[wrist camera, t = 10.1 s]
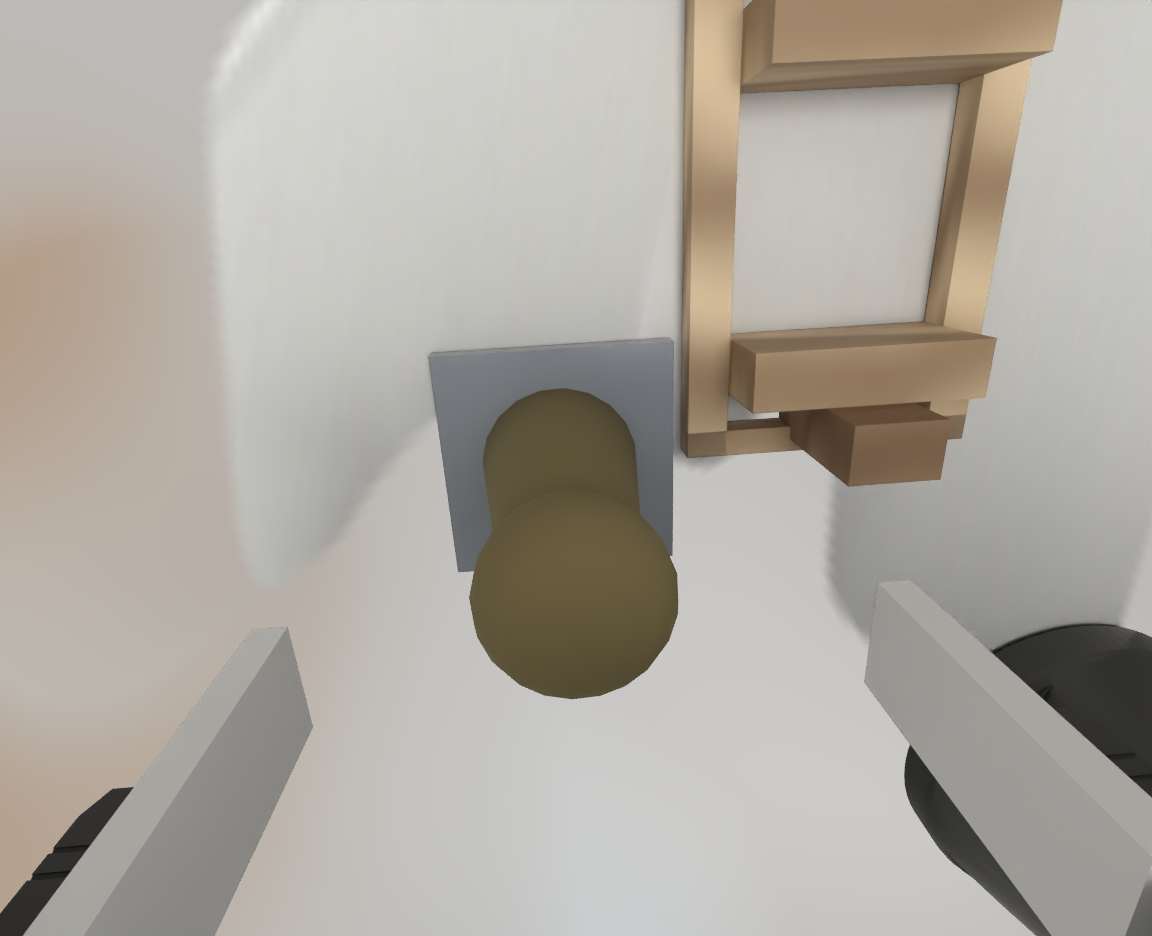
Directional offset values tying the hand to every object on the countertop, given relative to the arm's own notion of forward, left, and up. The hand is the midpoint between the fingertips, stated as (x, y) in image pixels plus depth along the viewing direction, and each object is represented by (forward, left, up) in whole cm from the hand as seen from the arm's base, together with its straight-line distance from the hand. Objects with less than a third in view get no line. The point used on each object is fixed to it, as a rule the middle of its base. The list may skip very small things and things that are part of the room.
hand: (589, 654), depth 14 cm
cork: (0, 0, -11) cm, 11 cm away
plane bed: (+9, -10, -12) cm, 18 cm away
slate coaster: (0, 0, -12) cm, 12 cm away
